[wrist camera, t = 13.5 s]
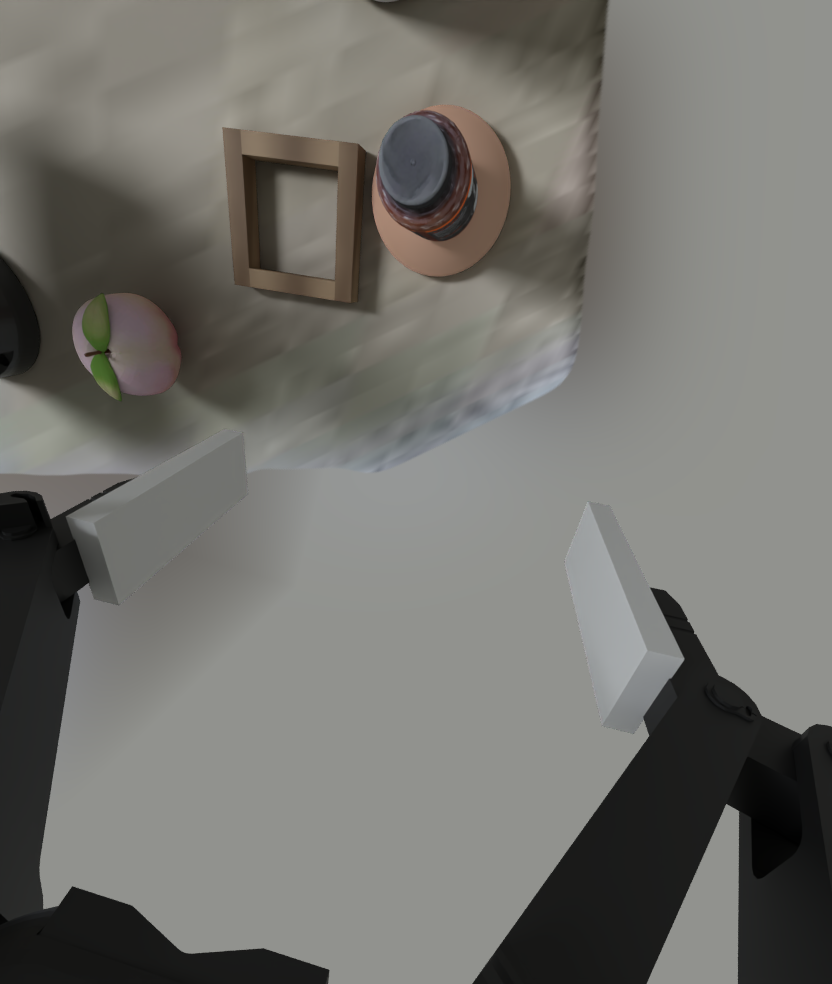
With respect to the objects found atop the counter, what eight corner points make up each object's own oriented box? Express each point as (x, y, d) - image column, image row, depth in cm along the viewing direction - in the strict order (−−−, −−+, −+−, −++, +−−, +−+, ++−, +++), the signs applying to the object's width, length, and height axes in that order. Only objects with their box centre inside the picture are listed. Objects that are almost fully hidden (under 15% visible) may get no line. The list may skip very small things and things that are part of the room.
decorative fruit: (119, 286, 41) (17, 289, 32) (193, 292, 40) (108, 296, 31) (143, 380, 46) (59, 404, 37) (210, 387, 44) (140, 414, 36)
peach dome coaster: (370, 266, 36) (367, 266, 35) (381, 102, 31) (377, 97, 30) (493, 285, 35) (493, 285, 34) (526, 118, 30) (527, 113, 29)
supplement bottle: (494, 179, 31) (491, 133, 21) (452, 257, 34) (432, 249, 24) (427, 132, 30) (392, 61, 20) (390, 216, 33) (344, 189, 23)
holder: (246, 284, 39) (234, 284, 37) (236, 135, 33) (222, 127, 32) (357, 301, 38) (350, 303, 36) (365, 150, 32) (358, 143, 31)
